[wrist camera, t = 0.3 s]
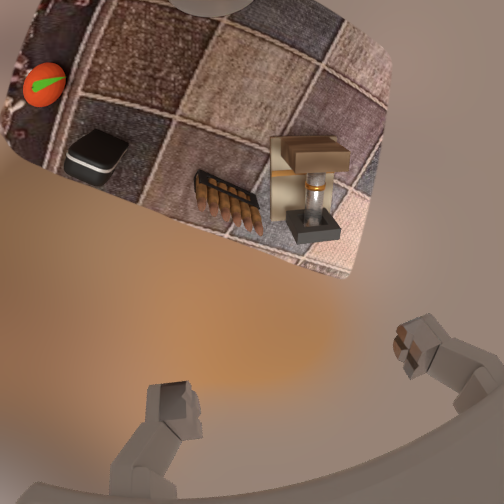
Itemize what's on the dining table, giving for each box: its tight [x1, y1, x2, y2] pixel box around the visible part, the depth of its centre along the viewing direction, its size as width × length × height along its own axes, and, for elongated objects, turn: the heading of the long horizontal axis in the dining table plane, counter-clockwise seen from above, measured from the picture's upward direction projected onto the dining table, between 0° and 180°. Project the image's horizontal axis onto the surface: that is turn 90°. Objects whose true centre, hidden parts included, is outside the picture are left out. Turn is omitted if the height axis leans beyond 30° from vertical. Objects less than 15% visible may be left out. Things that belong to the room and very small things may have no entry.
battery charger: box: [64, 129, 129, 186], centre depth 35 cm, size 7×4×11 cm, turn 57°
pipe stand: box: [270, 135, 350, 221], centre depth 45 cm, size 15×11×9 cm
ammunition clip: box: [194, 169, 263, 236], centre depth 42 cm, size 11×2×12 cm, turn 60°
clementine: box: [23, 62, 66, 107], centre depth 28 cm, size 8×7×7 cm
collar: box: [286, 207, 341, 245], centre depth 46 cm, size 2×7×7 cm, turn 92°
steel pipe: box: [304, 172, 326, 227], centre depth 44 cm, size 14×3×3 cm, turn 2°
